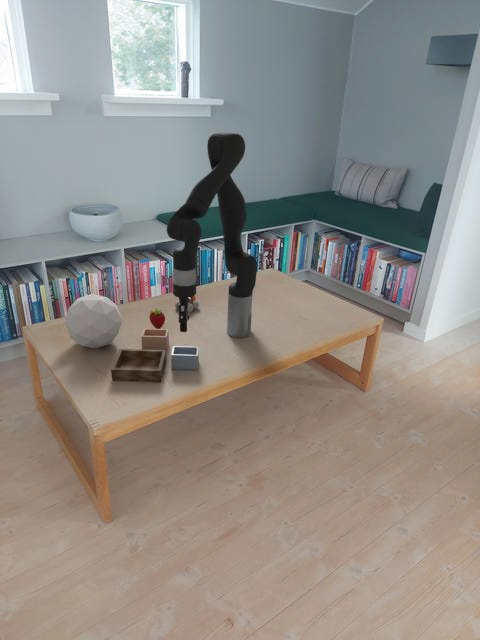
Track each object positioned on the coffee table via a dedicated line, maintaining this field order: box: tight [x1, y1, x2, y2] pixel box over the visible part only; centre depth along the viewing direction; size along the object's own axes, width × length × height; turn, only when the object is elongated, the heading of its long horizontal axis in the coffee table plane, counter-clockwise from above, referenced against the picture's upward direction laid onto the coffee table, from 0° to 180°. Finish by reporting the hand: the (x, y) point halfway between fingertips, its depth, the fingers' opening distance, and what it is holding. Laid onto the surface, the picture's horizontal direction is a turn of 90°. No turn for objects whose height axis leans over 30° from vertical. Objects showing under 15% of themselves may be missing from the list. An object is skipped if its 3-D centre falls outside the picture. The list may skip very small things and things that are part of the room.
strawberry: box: [148, 308, 166, 329], centre depth 182 cm, size 6×8×10 cm
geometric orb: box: [64, 293, 123, 349], centre depth 168 cm, size 19×20×20 cm
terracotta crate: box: [140, 328, 170, 352], centre depth 171 cm, size 9×6×6 cm, turn 91°
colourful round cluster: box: [174, 295, 200, 314], centre depth 201 cm, size 8×10×7 cm
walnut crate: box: [110, 348, 167, 383], centre depth 157 cm, size 16×13×4 cm
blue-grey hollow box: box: [170, 345, 200, 371], centre depth 161 cm, size 9×6×6 cm, turn 91°
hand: (184, 325), depth 155 cm, fingers open, 8 cm apart
